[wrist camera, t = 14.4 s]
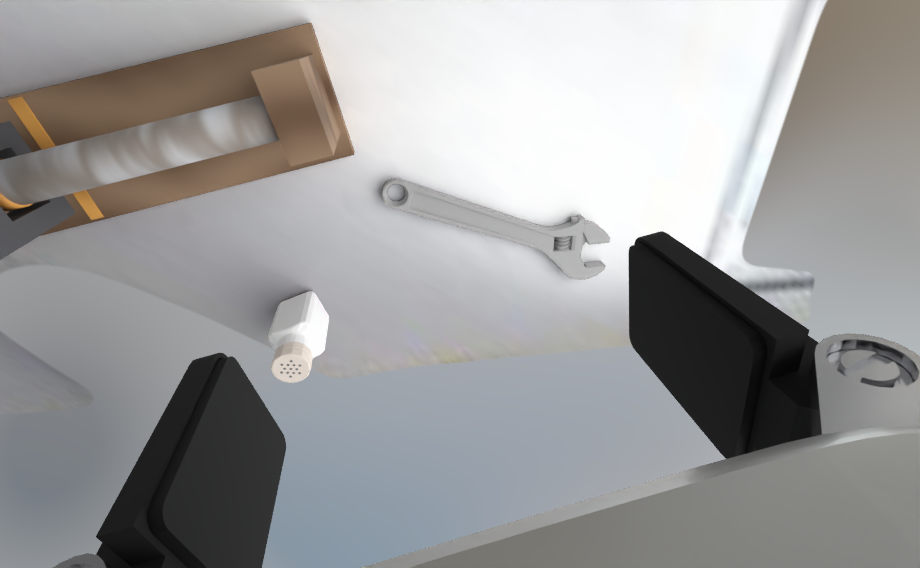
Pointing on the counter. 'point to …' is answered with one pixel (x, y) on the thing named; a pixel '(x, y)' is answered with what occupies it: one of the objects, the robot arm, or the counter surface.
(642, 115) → the counter surface
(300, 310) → the salt shaker
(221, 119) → the pipe stand
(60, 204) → the collar
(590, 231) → the adjustable wrench
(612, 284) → the counter surface
